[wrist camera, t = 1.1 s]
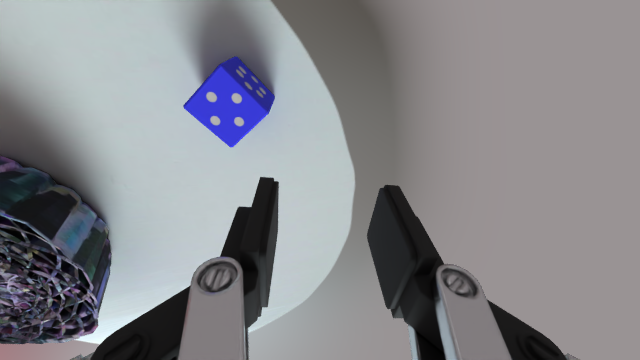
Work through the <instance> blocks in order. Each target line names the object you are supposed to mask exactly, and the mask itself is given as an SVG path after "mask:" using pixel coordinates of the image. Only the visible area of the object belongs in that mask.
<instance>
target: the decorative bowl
mask: <svg viewBox="0 0 640 360" xmlns="http://www.w3.org/2000/svg"><path fill="white" fill-rule="evenodd" d="M108 232H109V230H108V228H107V225H106V224H105V223H104V222H103V221H102V220H101V219H100V218H98V217H97V214H96V213H95V212H94V211H93V210H92V209H91V208H90V206H89V205H87V204H86V203H84V202H82V200H81V197H80V196H79V195H78V194H77V193H76V192H75V191H74V190H72V189H70V188H68V187H65V186H61V185H56V183H55V182H54V181H53V179H52V178H51V177H50V175H49V174H47V173H45V172H42V171H40V170H37V169H35V168H32V167H28V168H23V167H22V166H21V165H20V164H19V163H17V162H16V161H14V160H11V159H8V158H6V157H3V156H0V343H1V344H25V343H36V344H43V343H64V342H67V341H71V340H74V339H78V338H79V337H80V336H84V335H87V334H91V333H93V332H94V331H95V329H96V328H97V327H98V319H97V318H98V314H99V310H100V307H101V303H102V300H103V296H104V293H105V289H106V285H107V282H108V278H109V275H110V265H111V255H112V254H111V253H110V251H111V250H110V241H109V240H107V239H106V238H107V235H108Z"/></svg>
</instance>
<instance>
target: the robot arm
mask: <svg viewBox="0 0 640 360" xmlns="http://www.w3.org/2000/svg"><path fill="white" fill-rule="evenodd" d="M278 188H279V182H277V181H274V178H266V177H260V180H259V183H258V187H257V190H256V194H255V197H254V200H253V204H252V207H238V209H237V211H236V214H235V217H234V220H233V222H232V225H231V228H230V231H229V233H228V236H227V239H226V242H225V244H224V247H223V250H222V253H221V255H220V257H216V258H212V259H210V260H208V261H206V262H204V263H203V264H202V265H200V266H199V267H198V268H197V270H196V271H195V272H194V274H193V277H192V280H191V286H189V287H188V288H186V289H184V290H183V291H181V292H179V293H178V294H176V295H174V296H173V297H171V298H170V299H168V300H166V301H165V302H163V303H161V304H160V305H158V306H156V307H155V308H153V309H151V310H150V311H148V312H147V313H145V314H143V315H142V316H140V317H138V318H137V319H135V320H133V321H132V322H130V323H128V324H127V325H125V326H124V327H122V328H120V329H119V330H117V331H115V332H114V333H113V334H111V335H110V336H109V337H107V338H106V339H105V340H104V341H103V342H102V343H101V344H100V345H99V346H98V347H97V349H96V351H95V352H94V353H92V354H89V355H88V356H85V357H83V356H82V355H79V356H77V357H75V358H73V359H71V360H249V342H248V327H250V326H251V325H252V324H253V323H254V322H256V321H257V318H258V317H261V311H262V307H268V300H269V293H270V286H271V278H272V271H273V263H274V256H275V249H276V241H277V233H278ZM367 239H368V243H369V246H370V250H371V254H372V257H373V261H374V265H375V268H376V272H377V276H378V279H379V283H380V287H381V290H382V294H383V297H384V301H385V305H386V307H387V309H391V312H392V316H393V318H404V321H405V322H406V323H407V324H408V330H409V338H410V346H411V355H412V360H580V359H578V358H576V357H574V356H572V355H570V354H566V355H565V356H564V355H563V353H562V352H561V350H560V349H559V348H558V347H557V346H556V345H555V344H554V343H553V342H552V341H551V340H550V339H548V338H547V337H545V336H544V335H543V334H542V333H540V332H538V331H537V330H535V329H534V328H532V327H530V326H529V325H527V324H525V323H524V322H522V321H521V320H519V319H517V318H516V317H514V316H513V315H511V314H509V313H507V312H506V311H505V310H503V309H501V308H500V307H498V306H497V305H495V304H493V303H492V302H490V301H489V300H487V299H486V296H485V294H484V292H483V289H482V287H481V285H480V283H479V282H478V280H477V279H476V278H475V277H474V276H473V275H472V274H471V273H469V272H468V271H467V270H465V269H463V268H461V267H459V266H456V265H453V264H444V263H443V261H442V259H441V257H440V256H439V254H438V252H437V250H436V248H435V247H434V245H433V243H432V241H431V240H430V238H429V236H428V234H427V232H426V231H425V229H424V227H423V225H422V223H421V222H420V220H419V218H418V217H416V216H415V214H414V212H413V211H412V209H411V207H410V205H409V203H408V201H407V200H406V198H405V196H404V194H403V192H402V191H401V189H400V187H399V186H394V185H385V186H384V188H380V190H379V193H378V197H377V201H376V204H375V208H374V211H373V215H372V218H371V222H370V226H369V229H368V233H367Z"/></svg>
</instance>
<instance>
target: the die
mask: <svg viewBox="0 0 640 360" xmlns="http://www.w3.org/2000/svg"><path fill="white" fill-rule="evenodd" d="M274 99H275V96H274V95H273V94H272V93H271V92H270V91H269V90H268V89H267V88H266V87H265V85H264V84H263V83H262V82H261V81H260V80H259V79H258V78H257V77H256V76H255V75H254V74H253V73H252V72H251V71H250V70H249V69H248V68H247V67H246V65H245V64H244V63H243V62H242V61H241V60H240V59H239V58H238V57H236V56H235V57H233V58H231V59H229V60H227V61H225V62H223V63H221V64H220V65H219V66H218V67H217V68H216V69H215V70H214V71H213V72H212V74H211V75H210V76H209V77H208V78H207V79H206V80H205V82H204V83H203V84H202V85H201V86H200V87H199V88H198V90H197V91H196V92H195V93H194V94H193V95H192V96H191V98H190V99H189V100H188V101H187V102H186V103H185V104H184V105H183V106H184V109H186V110H187V111H188V112H189V113H190V114H191V115H193V116H194V117H195V118H196V119H197V120H199V121H200V122H201V123H202V124H203V125H204V126H206V127H207V128H208V129H209V130H210V131H212V132H213V133H214V134H215V135H216V136H218V137H219V138H220V139H221V140H222V141H223V142H225V143H226V144H227V145H228V146H229V147H233V146H234V145H236V144H237V143H238V142H239V141H240V140H241V139H242V138H243V137H244V136H245V135H246V134H247V133H248V132H249V131H250V130H251V129H252V128H254V127H255V126H256V125H257V124H258V123H259V122H260V121H261V120H262V119H263V118H264V117H265V116H266V115H267V114H268V113H269V111H270V109H271V106H272V104H273V101H274Z"/></svg>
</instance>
